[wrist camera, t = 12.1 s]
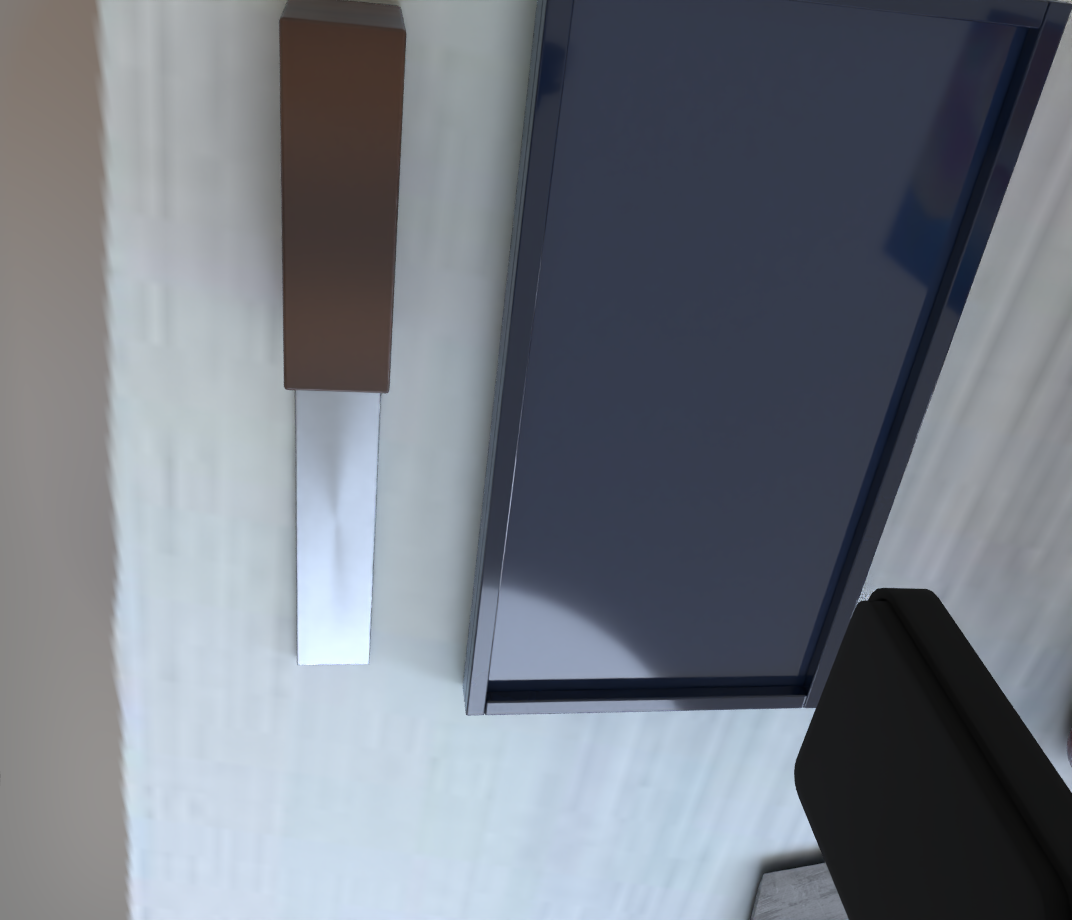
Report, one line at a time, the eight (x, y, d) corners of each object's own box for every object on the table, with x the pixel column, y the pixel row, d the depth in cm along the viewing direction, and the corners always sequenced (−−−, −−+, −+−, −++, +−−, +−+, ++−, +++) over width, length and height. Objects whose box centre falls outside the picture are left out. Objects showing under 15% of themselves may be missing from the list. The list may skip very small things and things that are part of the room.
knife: (288, -7, 22) (278, 16, 19) (401, 6, 22) (407, 29, 20) (294, 658, 31) (288, 731, 29) (372, 658, 32) (373, 729, 29)
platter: (543, -65, 22) (553, -59, 21) (1042, -5, 24) (1074, 4, 23) (462, 686, 33) (466, 716, 32) (805, 681, 35) (819, 708, 34)
